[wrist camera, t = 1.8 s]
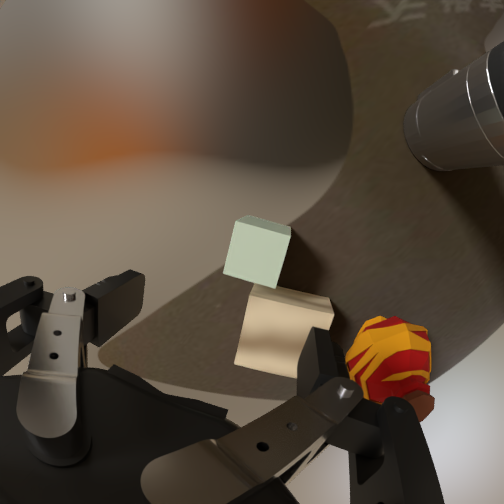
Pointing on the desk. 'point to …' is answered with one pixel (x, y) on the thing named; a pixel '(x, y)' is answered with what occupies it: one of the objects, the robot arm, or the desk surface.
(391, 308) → the desk surface
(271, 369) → the beech base
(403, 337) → the potion bottle
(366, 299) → the desk surface
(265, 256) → the green block
